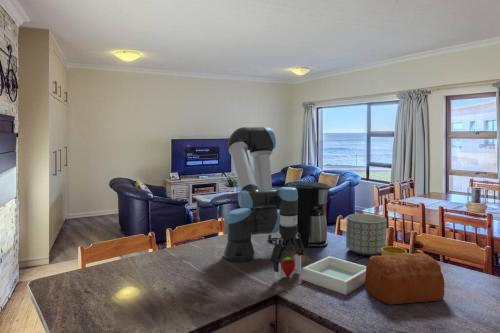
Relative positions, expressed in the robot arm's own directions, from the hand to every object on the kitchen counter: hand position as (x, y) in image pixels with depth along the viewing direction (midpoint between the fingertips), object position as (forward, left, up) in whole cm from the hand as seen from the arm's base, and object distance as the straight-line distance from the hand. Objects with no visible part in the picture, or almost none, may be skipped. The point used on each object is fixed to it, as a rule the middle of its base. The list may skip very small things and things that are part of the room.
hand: (288, 274), depth 148 cm
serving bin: (+16, +12, -1) cm, 20 cm away
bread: (+40, +18, -2) cm, 44 cm away
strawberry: (0, 0, -1) cm, 1 cm away
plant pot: (+29, +37, -2) cm, 47 cm away
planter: (+9, +51, -2) cm, 52 cm away
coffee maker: (-28, +46, -2) cm, 53 cm away
